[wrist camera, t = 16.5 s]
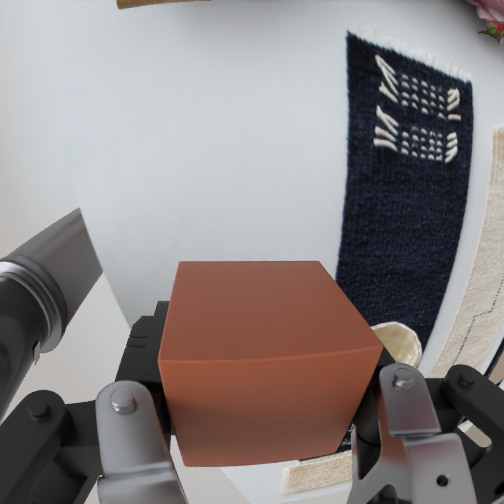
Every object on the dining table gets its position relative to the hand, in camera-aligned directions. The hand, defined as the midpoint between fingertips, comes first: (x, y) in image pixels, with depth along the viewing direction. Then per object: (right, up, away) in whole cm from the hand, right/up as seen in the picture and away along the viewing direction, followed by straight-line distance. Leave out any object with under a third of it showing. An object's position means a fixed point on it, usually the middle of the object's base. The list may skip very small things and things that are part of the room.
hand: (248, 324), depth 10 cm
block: (0, 0, 0) cm, 0 cm away
